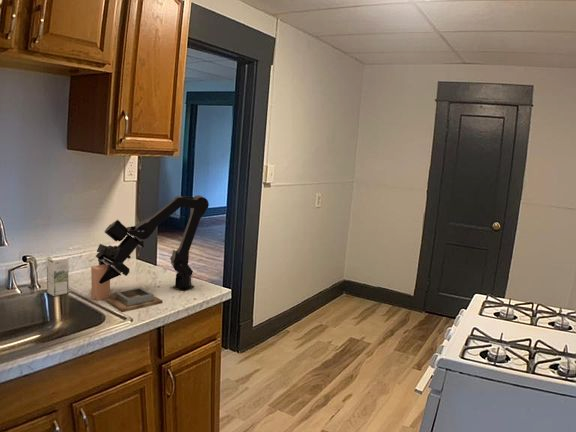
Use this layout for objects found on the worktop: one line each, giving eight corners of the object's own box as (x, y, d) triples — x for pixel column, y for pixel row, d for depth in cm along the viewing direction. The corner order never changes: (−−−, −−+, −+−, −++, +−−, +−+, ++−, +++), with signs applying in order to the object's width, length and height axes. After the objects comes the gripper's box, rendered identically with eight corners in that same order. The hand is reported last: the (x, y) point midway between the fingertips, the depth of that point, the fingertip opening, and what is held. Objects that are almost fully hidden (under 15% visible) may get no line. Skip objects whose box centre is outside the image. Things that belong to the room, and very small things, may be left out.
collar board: (145, 293, 184) (145, 285, 184) (162, 302, 175) (162, 294, 174) (106, 301, 173) (106, 292, 172) (121, 312, 164) (121, 302, 163)
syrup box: (62, 289, 183) (61, 254, 180) (69, 293, 179) (68, 257, 176) (47, 293, 178) (46, 256, 176) (54, 297, 174) (53, 259, 172)
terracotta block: (104, 294, 181) (104, 264, 179) (110, 297, 177) (109, 267, 175) (91, 296, 177) (91, 266, 175) (96, 300, 174) (96, 269, 172)
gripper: (100, 232, 183) (71, 263, 177) (121, 241, 170) (91, 275, 164) (119, 249, 189) (92, 279, 184) (141, 259, 176) (113, 292, 170)
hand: (97, 281), depth 175 cm, fingers closed on terracotta block, 5 cm apart
